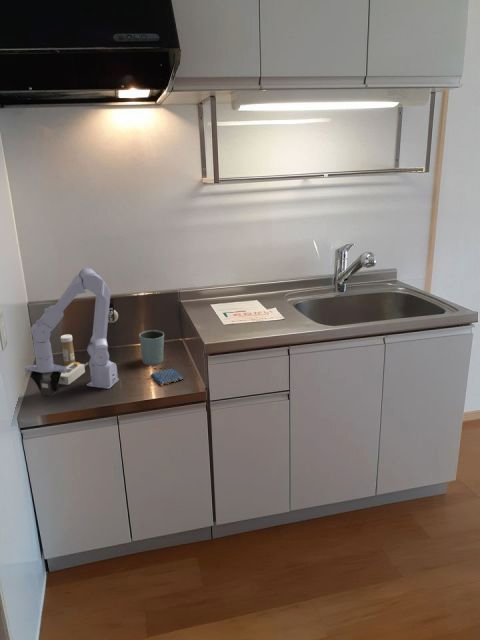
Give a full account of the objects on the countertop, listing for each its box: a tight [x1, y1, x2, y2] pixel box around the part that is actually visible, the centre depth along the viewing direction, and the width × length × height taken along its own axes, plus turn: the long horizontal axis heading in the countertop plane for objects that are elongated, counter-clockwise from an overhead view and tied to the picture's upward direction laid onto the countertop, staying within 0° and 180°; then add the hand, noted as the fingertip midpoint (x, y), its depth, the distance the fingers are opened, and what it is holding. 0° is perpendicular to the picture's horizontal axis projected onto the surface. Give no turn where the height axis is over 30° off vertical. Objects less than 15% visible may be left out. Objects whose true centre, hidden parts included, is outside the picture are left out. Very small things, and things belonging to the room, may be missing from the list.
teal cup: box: [138, 329, 165, 366], centre depth 214 cm, size 10×10×12 cm
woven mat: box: [150, 368, 186, 387], centre depth 200 cm, size 10×11×2 cm
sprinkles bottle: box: [60, 334, 76, 367], centre depth 209 cm, size 5×5×13 cm
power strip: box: [58, 361, 89, 386], centre depth 204 cm, size 6×19×4 cm, turn 165°
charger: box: [40, 374, 59, 397], centre depth 189 cm, size 4×6×6 cm, turn 165°
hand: (48, 389), depth 188 cm, fingers closed on charger, 5 cm apart
